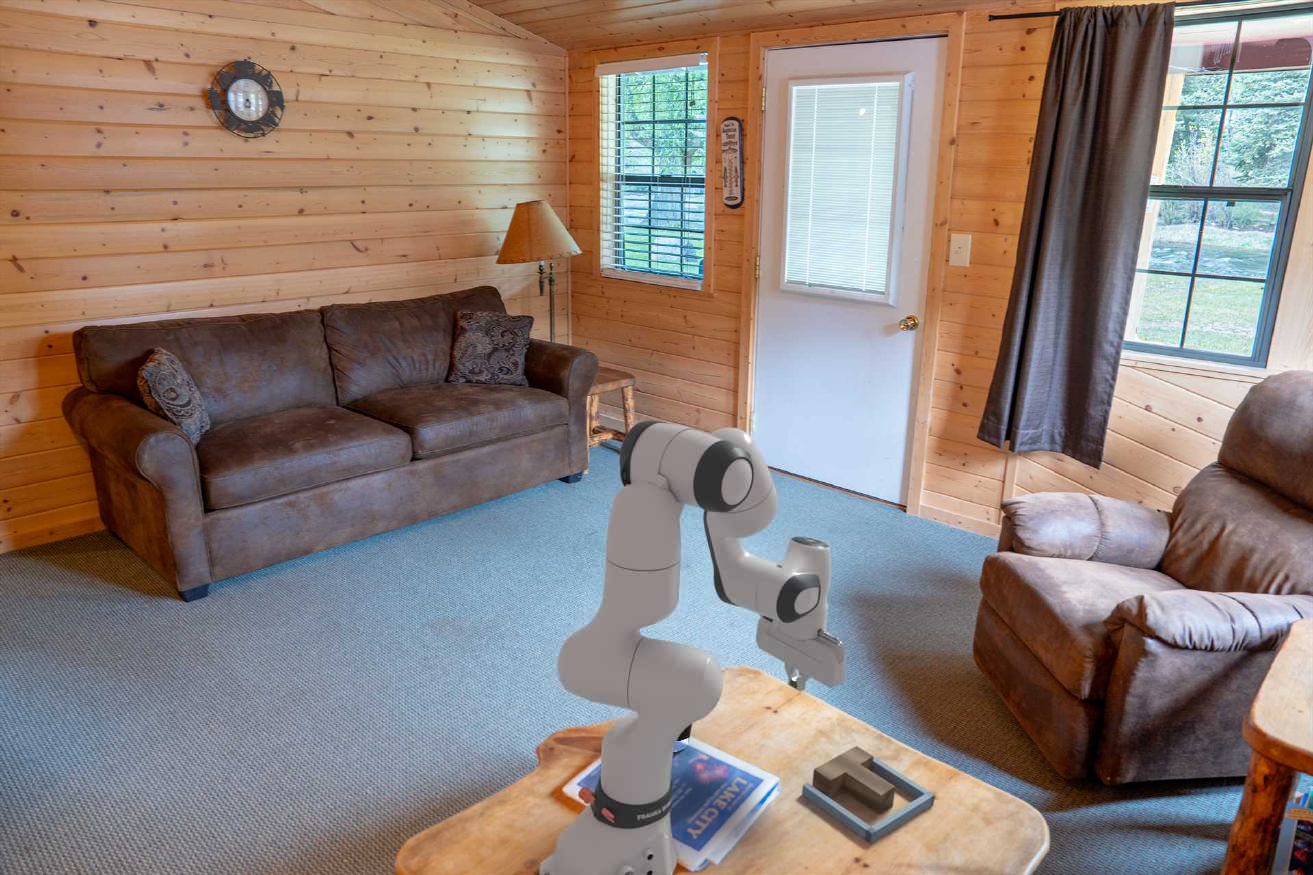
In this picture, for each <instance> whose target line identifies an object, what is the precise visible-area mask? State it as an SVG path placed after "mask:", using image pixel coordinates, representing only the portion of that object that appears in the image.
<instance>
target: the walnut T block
mask: <svg viewBox="0 0 1313 875" xmlns="http://www.w3.org/2000/svg"><path fill="white" fill-rule="evenodd" d="M872 765H873V755H872V754H870V753H869V752H867V751H865V750H864V749H862V748H861V747H859V746H857V745H856V746H854V747H852V748H850V749H848V750H846V751H845V752H842V753H840V754H839V755H837V756H836V757H834V758H832V759H830V760H828V761H826V762H824V763H823V764H821V765H819V766H817V767H815V768H813V775H812V786H813V787H814V788H816V789H817V790H819V791H820V792H822V793H823V794H824V795H826V796H827V797H829V798H830V799H832V798H834V797H835V796H837V795H839V794H841V793H843V792H844V793H846V794H847V795H849V796H850V797H852V798H853V799H855V800H856V801H857V802H859V803H861V804H862V805H864V806H865V807H867V808H868V809H870V810H871V811H872V812H874V813H876V814H878V815H880V814H882V813H883V812H885V811H888V810H889V809H890V808H892V807H893V806H894V800H895V792H896V785H895V784H893V783H891V782H890V781H888V780H887V779H885V778H884V777H882V776H880V775H879V774H877V773H876V772H874V771H873V770H872Z"/></svg>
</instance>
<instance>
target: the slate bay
mask: <svg viewBox="0 0 1313 875" xmlns="http://www.w3.org/2000/svg"><path fill="white" fill-rule="evenodd" d="M872 756H873V755H872ZM872 772H873V773H875V774H876V775H878V776H880V777H881V778H883V779H884V780H886V781H887V782H889V783H891V784H892V785H894V786H895V787H896V786H897V787H898V788H899V789H901V790H902V791H904V792H905V793H907V794H908V795H910V796H912V797H914V798H915V800H913V801H911V802H910V803H907V804H906V805H904V806H903V807H901V808H900V809H897V811H894V812H893V813H891V814H890V815H888V816H886V817H885V818H883V819H881V820H880V821H878V822H877V823H875V824H873V825H872V826H870V825H869V824H867V823H866V822H864V821H863V820H862V819H861V818H858V817H857V816H856V815H854V814H853V813H851V812H850V810H847V808H846V809H845V808H844V807H843V806H841V804H839V803H837V802H836V801H834V800H833V799H832V798H829V797H827V796H826V795H824V794H823V793H822V792H820V791H819V790H817V789H816V788H814V787H813V786H812V785H811V784H810V783H809V782H806V783H804V784H803V785H802V790H801V795H802V796H803V797H805V798H806V799H808V801H810V802H812V803H813V804H814V805H816V806H818V807H819V808H820V809H821V810H823V811H824V812H826V813H827V814H828V815H830V816H832V817H833V818H834V819H835V820H836V821H838V822H839V823H841V824H843V825H844V826H845V827H846V828H848V829H849V830H850V831H852V832H854V833H855V834H856V835H858V836H859V837H860V838H862V839H863V840H865V841H866V842H867V843H868V844H871V845H872V844H873V843H874V842H876V841H878V840H879V839H881V838H882V837H885V836H886V835H887V834H889V833H891V832H892V831H893V830H896V829H897V828H898V827H900V826H901V825H903V824H905V823H906V822H908V821H909V820H912V818H914V817H916V816H917V815H920V813H922V812H924V811H925V810H927V809H929V808H930V807H931V806H933V805H934V804H935V797H936V794H935V793H932V792H931V791H929V790H928V789H926V788H925V787H923V786H922V785H920V784H918V783H917V782H915V781H914V780H912V779H910V778H909V777H907V776H906V775H904V774H903V773H901V772H899V771H898V770H896V769H894V768H893V767H891V766H890V765H888V764H887V763H885V762H883V761H882V760H880V759H879V758H877V757H875V756H873V765H872Z"/></svg>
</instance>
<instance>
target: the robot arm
mask: <svg viewBox="0 0 1313 875" xmlns="http://www.w3.org/2000/svg"><path fill="white" fill-rule="evenodd" d="M619 452H620V453H619V476H620V481H621V484H622V486H623V487H622V488H621V489H619V490H618V491H617V493H616V494H615V496H614V499H613V502H612V506H611V510H610V513H609V520H608V525H607V532H606V540H605V541H606V542H605V570H604V581H603V582H604V583H603V591H602V592H603V593H602V598H601V603H600V605H599V608H598V610H597V613H596V614H595V616H594V617H593V618H592V620H590V621H589V622H588V623H587V624H586V625H585V626H584V627H582V628H580V629H578V630H576V631H575V632H574V633H573V632H572V633H571V634H570V636H569V637H568V638H567V639H566V640H565V641H564V643H563V644H562V645H561V648H560V650H559V653H558V656H557V664H556V665H557V675H558V678H559V681H560V684H561V686H562V687H563V688H564V690H565V691H566V692H568V693H571V694H572V695H575V696H576V697H579V698H582V699H584V700H587V701H588V702H591V703H596V704H600V705H606V706H610V707H617V708H621V709H626V710H631V711H633V712H635V713H637V714H634V715H631V716H627V717H624V718H622V719H621V720H618V721H617V722H615V723H614V724H613V725H611V727H610V728H608V730H606V732H605V733H604V736H603V739H602V742H601V746H600V747H601V751H600V752H601V757H600V760H601V761H600V762H601V764H600V776H599V778H598V781H597V782H596V786H595V788H594V790H593V791H591V789H590V788H589V787H588V786H586V785H585V786H582V787H581V788H580V789H579V791H578V794H577V795H578V798H579V799H580V800H582V801H583V802H584V803H585V804H586V805H587V806H586V807H585V808H584V809H583V811H581V813H580V814H579V815H578V816H577V817H576V818H575V819H574V820H573V821H572V822H571V823H570V824H569V826H567V827H566V828H565V830H563V832H561V834H560V835H559V836H558V838H557V841H556V845H555V849H554V852H553V853H552V854H550V855H549V856H547V857H546V858H545V859H544V860H542V861H541V862H539V871H538V873H539V875H673V874H674V871H675V870H676V867H677V863H678V856H677V857H676V852H677V850H675V849H676V847H675V843H674V838H673V830H672V823H671V810H672V806H673V798H674V797H673V796H674V795H673V794H674V792H673V790H674V786H673V785H674V783H673V779H672V776H671V775H672V765H673V764H672V763H673V757H674V753H673V750H674V746H675V743H676V741H677V739H678V737H679V735H680V734H681V733H682V732H683V730H684V729H685V728H687V727H688V726H689V725H690V724H692V725H693V723H696V722H697V721H699V720H702V719H704V718H706V717H707V716H709V714H711V712H713V710H715V708H716V707H717V705H718V703H719V701H720V699H721V697H722V692H723V690H724V689H723V688H724V676H723V672H722V669H721V665H720V664H719V662H718V660H717V659H716V657H715V656H714V655H713V654H711V653H709V652H706V651H703V650H701V649H700V648H696V647H694V646H692V645H689V644H685V643H681V642H673V641H669V640H662V639H658V638H651V637H648V636H644V635H643V634H641V632H640V629H643V628H646V627H649V626H653V625H655V624H658V623H660V622H662V621H663V620H666V619H667V618H668V617H670V615H672V614H673V612H674V611H675V610H676V608H677V606H678V603H679V599H680V575H681V559H682V558H681V557H682V555H681V554H682V553H681V552H682V550H681V549H682V537H681V536H682V535H681V523H680V522H681V521H680V518H681V515H682V512H683V511H684V508H685V506H686V505H687V506H691V507H695V508H701V509H702V510H703V515H702V516H703V517H702V519H703V527H704V533H705V537H706V541H707V546H708V550H709V554H710V557H711V563H712V567H713V586H714V590H715V593H716V595H717V597H718V598H719V599H720V601H721V602H722V603H724V604H729V605H733V606H736V607H740V608H743V609H745V610H748V611H751V612H753V613H755V614H758V615H759V617H760V618H759V619H758V620H757V625H756V635H755V642H756V645H757V648H758V649H759V650H761V651H762V652H765V653H767V654H768V655H770V656H772V657H774V658H775V659H777V660H779V661H781V662H782V663H784V670H785V673H786V675H787V678H788V679H787V685H788V686H789V687H791V688H792V689H794V690H796V691H797V692H803V691H804V690H806V685H807V684H806V682H808V680H809V679H810V678H811V679H813V680H815V681H817V682H818V683H819V684H821V685H823V686H825V687H826V688H830V689H832V688H834V687H837V686H840V685H841V684H843V683H844V682H845V681H846V671H847V670H846V654H845V653H846V648H845V646H844V644H843V643H842V641H841V639H840V638H839V637H837V636H835V635H833V634H830V633H829V632H827V623H828V622H827V621H828V611H829V604H828V595H829V594H828V593H829V592H830V589H831V582H832V552H831V547H830V546H829V545H828V544H827V543H825V542H823V541H821V540H819V539H815V538H813V537H812V538H811V537H806V536H794V537H791V538H790V539H789V541H788V544H787V548H786V551H785V556H784V557H783V558H782V559H781V561H779V562H778V563H777V562H773V561H771V560H768V559H764V558H762V557H759V556H757V555H755V554H752V553H750V552H749V551H747V550H746V549H744V547H742V541H741V539H744V538H745V539H747V538H750V537H752V536H755V535H757V534H759V533H760V532H762V531H763V530H764V529H766V528H767V527H768V526H769V525H770V524H771V523H772V522H773V520H774V518H775V516H776V514H777V511H778V507H779V498H778V492H777V488H776V485H775V482H774V480H773V478H772V473H771V472H770V469H769V466H768V465H767V463H766V460H765V459H764V458H765V457H764V456H763V454H762V453H761V451H760V449H759V447H758V446H757V444H756V443H755V440H753V438H752V437H751V436H750V434H749V433H747V432H746V431H745V430H743V429H740V428H736V427H731V426H730V427H728V426H727V427H723V428H719V429H716V430H713V431H712V432H709V433H705V432H702V431H700V430H699V429H696V428H693V427H691V426H690V427H689V426H685V425H682V424H681V425H679V424H673V423H668V422H666V421H663V420H643V421H639V422H637V423H636V424H634V425H633V426H632V427H631V428H630V429H629V430H628V432H627V434H626V435H625V437H624V439H623V441H622V443H621V447H620V451H619ZM797 671H798V673H797ZM798 675H799V676H800V677H799V676H798Z"/></svg>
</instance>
